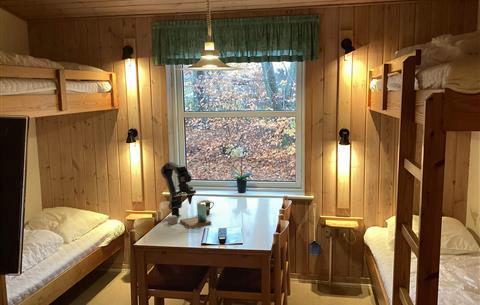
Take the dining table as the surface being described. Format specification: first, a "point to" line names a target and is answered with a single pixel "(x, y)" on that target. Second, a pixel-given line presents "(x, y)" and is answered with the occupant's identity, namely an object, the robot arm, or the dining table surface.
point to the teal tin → (201, 212)
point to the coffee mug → (207, 206)
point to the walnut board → (194, 222)
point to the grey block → (172, 219)
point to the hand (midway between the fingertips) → (185, 204)
